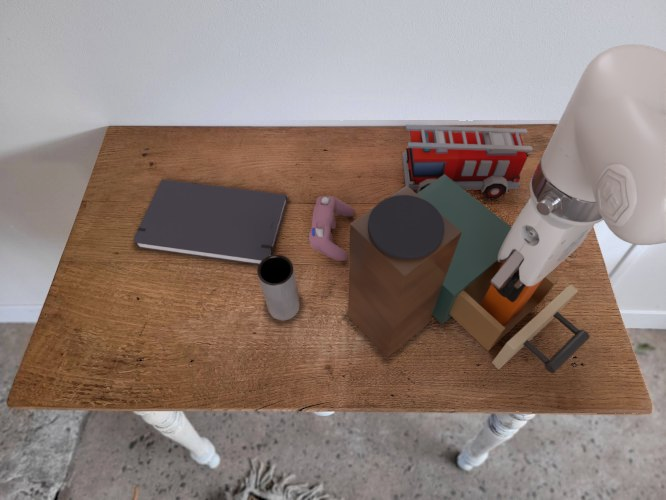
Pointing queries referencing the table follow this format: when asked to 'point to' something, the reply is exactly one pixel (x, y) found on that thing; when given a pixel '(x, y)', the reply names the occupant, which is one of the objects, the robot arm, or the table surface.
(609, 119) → the robot arm
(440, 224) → the coaster
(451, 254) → the stand
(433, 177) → the toy fire truck
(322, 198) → the video game controller
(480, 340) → the drawer
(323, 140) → the table surface
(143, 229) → the notebook
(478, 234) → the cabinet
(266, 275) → the planter
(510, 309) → the block
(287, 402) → the table surface
